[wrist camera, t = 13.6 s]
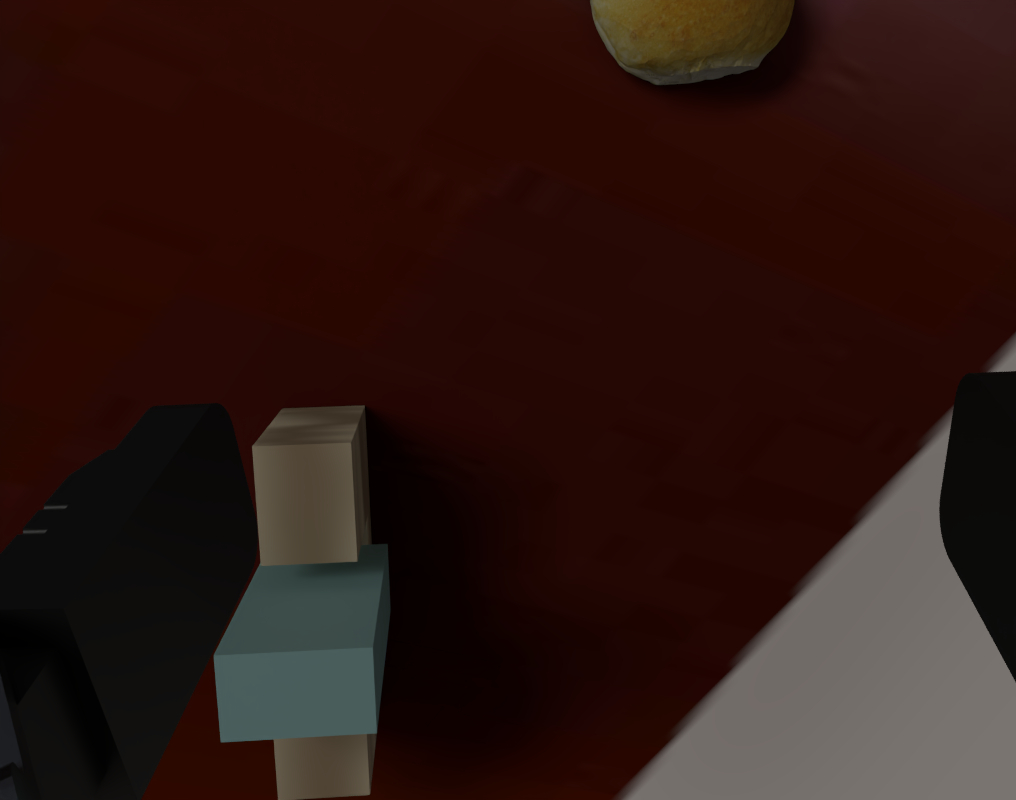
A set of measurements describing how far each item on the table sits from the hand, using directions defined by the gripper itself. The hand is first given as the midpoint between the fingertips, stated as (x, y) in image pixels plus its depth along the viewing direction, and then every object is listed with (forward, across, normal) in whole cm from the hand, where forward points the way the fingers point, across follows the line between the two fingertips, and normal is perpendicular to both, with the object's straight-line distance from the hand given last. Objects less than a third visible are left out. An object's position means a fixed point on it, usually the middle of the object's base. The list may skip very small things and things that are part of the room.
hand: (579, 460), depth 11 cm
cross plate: (+22, +12, +19) cm, 32 cm away
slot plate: (+24, +12, +20) cm, 34 cm away
